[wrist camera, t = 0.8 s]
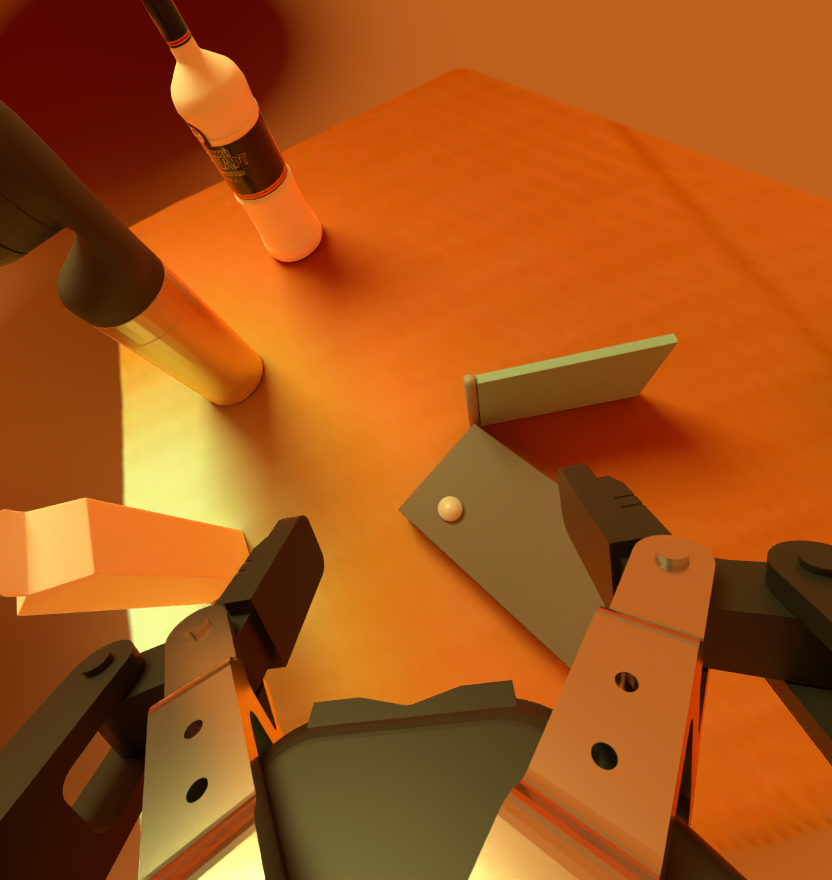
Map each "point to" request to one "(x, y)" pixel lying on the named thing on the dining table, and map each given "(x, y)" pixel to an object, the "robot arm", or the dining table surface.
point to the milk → (112, 558)
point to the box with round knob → (508, 538)
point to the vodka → (237, 139)
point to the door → (565, 381)
